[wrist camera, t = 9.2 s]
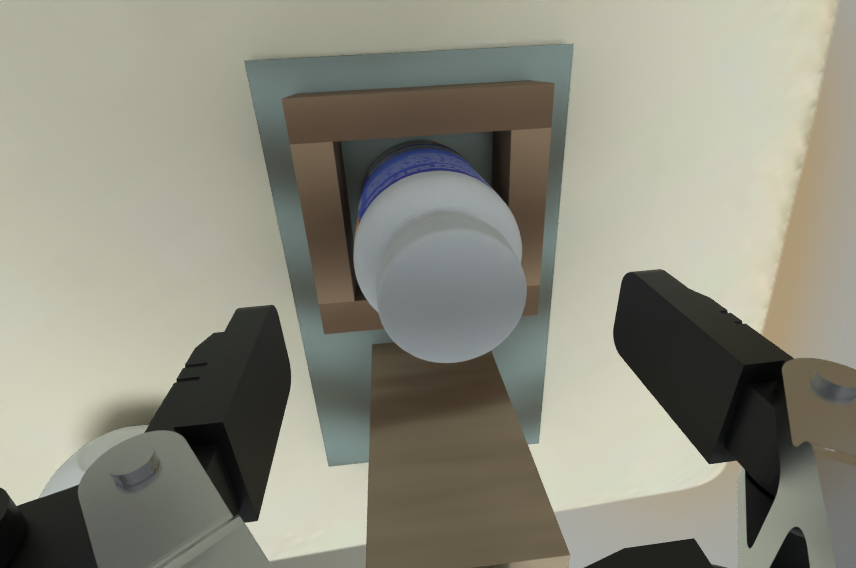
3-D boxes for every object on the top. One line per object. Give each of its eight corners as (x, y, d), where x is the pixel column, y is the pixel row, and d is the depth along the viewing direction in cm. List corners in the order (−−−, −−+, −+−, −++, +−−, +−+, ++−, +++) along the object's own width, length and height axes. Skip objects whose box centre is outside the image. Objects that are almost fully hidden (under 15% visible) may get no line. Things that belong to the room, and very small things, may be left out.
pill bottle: (336, 178, 19) (299, 270, 11) (444, 113, 19) (499, 155, 10) (399, 274, 22) (411, 414, 13) (498, 220, 21) (581, 330, 12)
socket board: (251, 60, 18) (18, 58, 6) (564, 44, 19) (857, 15, 7) (330, 453, 28) (295, 731, 16) (533, 431, 29) (637, 681, 17)
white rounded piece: (189, 508, 29) (129, 648, 22) (68, 459, 26) (-44, 601, 19) (257, 433, 27) (214, 563, 20) (133, 371, 24) (33, 496, 17)
